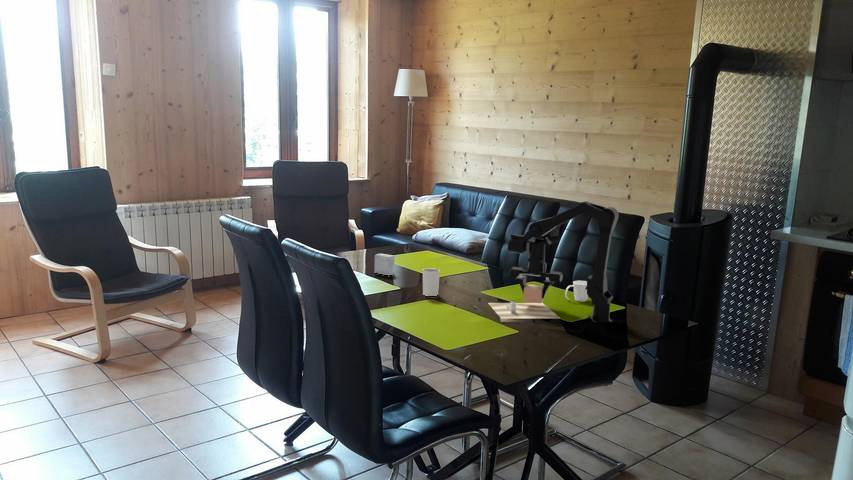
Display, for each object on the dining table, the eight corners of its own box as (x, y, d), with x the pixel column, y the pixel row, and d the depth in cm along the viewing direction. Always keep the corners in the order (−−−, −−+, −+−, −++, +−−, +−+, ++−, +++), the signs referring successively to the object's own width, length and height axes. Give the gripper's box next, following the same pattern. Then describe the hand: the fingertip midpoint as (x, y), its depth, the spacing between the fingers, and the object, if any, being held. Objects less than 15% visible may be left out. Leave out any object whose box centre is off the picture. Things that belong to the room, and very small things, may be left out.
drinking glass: (442, 295, 263) (443, 270, 261) (430, 298, 258) (431, 272, 257) (429, 292, 267) (430, 267, 266) (418, 294, 263) (419, 269, 261)
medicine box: (394, 275, 296) (395, 255, 294) (388, 276, 292) (389, 257, 290) (380, 272, 300) (380, 253, 298) (373, 274, 296) (374, 254, 295)
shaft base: (560, 321, 234) (561, 308, 233) (501, 321, 231) (501, 308, 230) (542, 306, 253) (543, 294, 252) (487, 306, 250) (488, 294, 249)
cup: (593, 305, 257) (594, 284, 256) (568, 305, 255) (570, 285, 253) (584, 300, 264) (586, 280, 262) (560, 301, 261) (562, 280, 260)
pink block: (544, 299, 249) (545, 285, 248) (540, 303, 243) (541, 289, 242) (527, 297, 251) (528, 283, 250) (523, 301, 245) (524, 286, 244)
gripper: (566, 254, 248) (563, 295, 251) (517, 249, 255) (514, 289, 258) (561, 259, 238) (557, 302, 241) (509, 254, 245) (506, 296, 247)
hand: (534, 297), depth 247 cm, fingers closed on pink block, 6 cm apart
